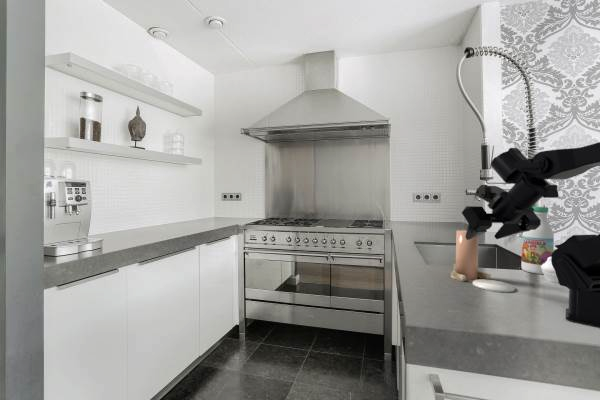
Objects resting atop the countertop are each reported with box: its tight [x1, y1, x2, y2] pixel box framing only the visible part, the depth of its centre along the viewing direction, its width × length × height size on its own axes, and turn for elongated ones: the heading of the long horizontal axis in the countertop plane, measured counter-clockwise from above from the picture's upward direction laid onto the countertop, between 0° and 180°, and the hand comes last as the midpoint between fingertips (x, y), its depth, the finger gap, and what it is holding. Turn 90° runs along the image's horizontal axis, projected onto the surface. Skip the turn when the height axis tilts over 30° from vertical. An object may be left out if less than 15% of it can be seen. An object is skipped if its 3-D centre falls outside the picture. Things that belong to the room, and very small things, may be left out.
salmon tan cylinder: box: [455, 229, 480, 281], centre depth 86 cm, size 6×6×13 cm
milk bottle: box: [520, 206, 555, 275], centre depth 94 cm, size 8×8×20 cm
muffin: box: [541, 257, 559, 284], centre depth 83 cm, size 6×6×7 cm
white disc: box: [472, 278, 516, 293], centre depth 78 cm, size 9×9×1 cm
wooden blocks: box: [450, 262, 491, 283], centre depth 87 cm, size 8×9×3 cm
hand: (481, 238), depth 81 cm, fingers open, 9 cm apart
